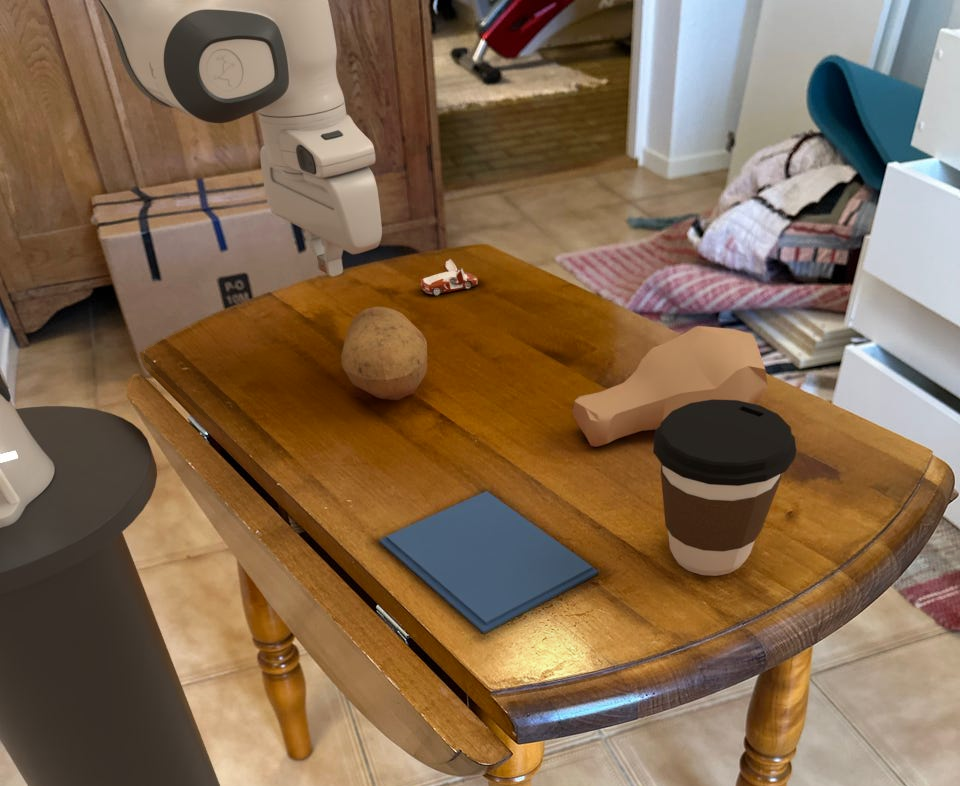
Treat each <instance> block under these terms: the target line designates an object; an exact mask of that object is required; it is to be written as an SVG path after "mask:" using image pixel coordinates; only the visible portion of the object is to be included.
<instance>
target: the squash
mask: <svg viewBox="0 0 960 786" xmlns="http://www.w3.org/2000/svg"><path fill="white" fill-rule="evenodd" d="M767 387H768V378H767V371H766V367H765V365H764V361H763V358H762V356H761V352H760V349H759V346H758V343H757V340H756V338H755V336H754V334H752V333H749V332H746V331H743V330H738V329H735V328H726V327H725V328H724V327H717V326H715V327H714V326H705V325H704V326H702V325H696V326H695V327H693V328H691V329H689V330H687V331H686V332H685V333H683V334H681V335H679V336H676V338H673V339H671V340H668V341H665V342H663V343H661V344H659V345H656V346H654V347H652V348H651V349H650V350H649V351H648V352H647V353H646V354H645V356H644V357H643V358H642V359H641V360H640V362H639V364H638V365H637V368H636V370H635V371H634V372H633V373H632V374H631V375H630V376H629V377H628V378H627V379H626V380H625V381H624V382H622V383H619V384H617V385H613V386H612V387H610V388H607V389H604V390H601V391H599V392H594V393H589V394H585V395H579V396H578V397H577V398H576V399H575V400H574V402H573V409H572V416H573V418H574V420H575V421H576V423H577V425H578V427H579V429H580V431H582V433H583V434H584V436H585V438H586V439H587V441H588V444H589V445H590V447H594V448H595V447H596V448H597V447H600V446H604V445H607V444H610V443H611V442H613V441H616V440H617V439H620V438H623V437H627V436H630V435H632V434H636V433H638V432H641V431H653V430H654V431H656V430H657V429H658V428H659V427H660V425H661V422H662V421H663V420H664V419H665V418H666V417H667V416H668V415H669V414H670V413H671V412H672V411H673V410H676V409H678V408H680V407H682V406H685V405H687V404H689V403H694V402H700V401H706V400H712V399H716V400H738V401H743V402H747V403H752V404H757V402H758V401H759V399H760V398H761V396H763V393H764V392H765V391H766V389H767Z"/></svg>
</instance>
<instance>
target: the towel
mask: <svg viewBox="0 0 960 786" xmlns="http://www.w3.org/2000/svg"><path fill="white" fill-rule="evenodd" d="M378 541H379V544H380V545H382V546H383V547H384V548H385V549H387V551H389V552H390V553H391V554H392V555H393V556H395V558H397V559H398V560H399V561H400V562H401V563H402V564H403V565H405V567H407V569H409V570H410V571H411V572H412V573H414V574H415V575H416V576H417V577H418V578H419V579H420V580H421V581H422V582H424V583H425V584H426V585H427V586H428V587H430V588H431V589H432V590H433V591H434V592H435V593H436V594H438V595H439V596H440V597H441V598H442V599H443V600H444V601H445V602H446V603H448V604H449V605H450V606H451V607H452V608H453V609H455V610H456V611H457V613H459V614H460V615H462V617H464V618H465V619H466V620H467V621H469V622H470V624H472V625H473V626H474V627H475V628H476V629H477V630H479V632H481V633H482V634H483V635H485V634H487V633H489V632H490V631H492V630H495V629H496V628H498V627H500V626H502V625H504V624H506V623H508V622H510V621H512V620H513V619H515V618H517V617H519V616H521V615H523V614H525V613H527V612H529V611H531V610H532V609H534V608H536V607H538V606H540V605H542V604H544V603H545V602H548V601H549V600H552V599H553V598H555V597H557V596H559V595H562V594H563V593H565V592H566V591H569V590H570V589H572V588H574V587H576V586H578V585H580V584H582V583H583V582H585V581H587V580H589V579H592V578H593V577H595V576H597V575H598V574H599V570H598V569H596V568H595V567H593V566H592V565H591V564H590V563H589V562H587V561H586V560H584V559H582V558H581V557H580V556H579V555H577V554H576V553H574V552H573V551H572V550H570V549H568V548H567V547H566V546H564V545H563V544H562V543H560V542H559V541H558V540H556V539H554V538H553V537H552V536H551V535H549V534H548V533H546V532H545V531H544V530H542V529H541V528H540V527H538V526H537V525H535V524H534V523H532V522H530V521H529V520H528V519H526V518H525V517H524V516H522V515H521V514H520V513H518V512H517V511H515V510H514V509H513V508H511V507H510V506H509V505H507V504H505V503H504V502H503V501H501V500H500V499H499V498H498V497H496V496H494V495H493V494H492V493H491V492H489V491H488V490H485V491H483V492H481V493H479V494H477V495H475V496H472V497H470V498H468V499H466V500H465V499H464V500H463V501H461V502H459V503H457V504H455V505H452V506H449V507H448V508H446V509H443V510H442V511H439V512H437V513H435V514H433V515H430V516H427V517H425V518H423V519H422V520H419V521H417V522H413V523H412V524H410V525H408V526H406V527H403V528H401V529H399V530H397V531H395V532H392V533H390V534H388V535H386V536H385V537H383V538H380V539H379V540H378Z"/></svg>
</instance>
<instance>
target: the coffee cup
mask: <svg viewBox="0 0 960 786" xmlns="http://www.w3.org/2000/svg"><path fill="white" fill-rule="evenodd" d="M652 452H653V454H654V455H655V457H656V458H657V459H658V461H659V463H660V479H661V490H662V502H663V512H664V524H665V528H666V529H667V531H668V532H667V534H668V542H669V544H668V545H669V550H670V552H671V554H672V556H673V558H674V560H675V561H676V563H677V564H678V565H679V566H681V567H682V568H683V569H685V570H687V571H688V572H691V573H695V574H698V575H700V576H711V577H718V576H723V575H727V574H728V575H729V574H731V573H733V572H734V571H736V570H738V569H740V568H741V567H742V565H743V564H744V563H745V562H746V560H747V559H748V558H749V556H750V555H751V553H752V550H753V547H754V544H755V542H756V540H757V538H758V537H759V535H760V533H761V532H762V530H763V527H764V525H765V522H766V519H767V517H768V514H769V512H770V509H771V506H772V503H773V501H774V499H775V495H776V493H777V490H778V488H779V485H780V483H781V480H782V474H783V473H785V472H787V470H788V469H789V467H790V466H791V465H792V463H793V462H794V461H795V459H796V456H797V443H796V437H795V435H793V433H792V427H791V426H790V425H789V423H787V422H786V421H785V419H784V418H783V417H782V416H780V414H778V413H777V412H774V411H773V410H770V409H769V408H766V407H764V406H762V405H760V404H757V403H755V404H752V403H747V402H743V401H738V400H716V399H712V400H706V401H700V402H694V403H689V404H687V405H685V406H682V407H680V408H678V409H676V410H673V411H672V412H671V413H670V414H669V415H668V416H667V417H666V418H665V419H664V420H663V421H662V422H661V425H660V427H659V428H658V429H655V430H654V436H653V449H652Z"/></svg>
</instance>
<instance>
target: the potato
mask: <svg viewBox="0 0 960 786" xmlns="http://www.w3.org/2000/svg"><path fill="white" fill-rule="evenodd" d="M340 359H341V366H342V368H343V371H344V372H345V374H346V375H347V377H348V380H349V381H350V382H351V384H352V385H353V386H355V387H357V388H358V389H361V390H362V391H364V392H366V393H368V394H370V395H371V396H373V397H375V398H377V399H381V400H390V401H399V400H402V399H403V398H406V397H407V396H410V395H413V394H414V393H415V392H416V391H417V389H418V388H419V386H420V385H421V383H422V381H423V380H424V378H425V376H426V375H427V370H428V341H427V340H426V338H425V336H424V335H423V333H422V331H420V330H419V329H418V328H417V327H416V326H415V325H414V324H413V323H412V322H411V321H410V319H408V317H406V316H405V314H403V313H402V312H399V311H397V310H395V309H393V308H389V307H385V306H372V307H368V308H365V309H363V310H362V311H360V312H359V313H358V314H357V315H356V316H355V317H354V319H353V320H352V321H351V322H350V325H349V328H348V330H347V332H346V337H345V340H344V342H343V346H342V350H341V354H340Z"/></svg>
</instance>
